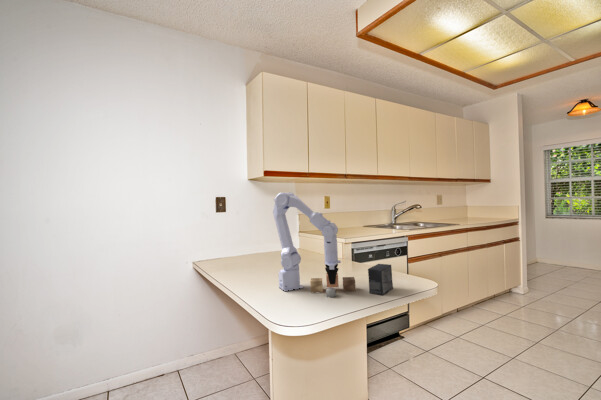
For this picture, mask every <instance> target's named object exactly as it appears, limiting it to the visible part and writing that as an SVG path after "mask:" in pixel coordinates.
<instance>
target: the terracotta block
mask: <svg viewBox="0 0 601 400" xmlns="http://www.w3.org/2000/svg"><path fill="white" fill-rule="evenodd" d="M325 274H326V275H325V276H326V288H339V286H340V285H339V273H338V272H337V275H336V282H335V284H330V282H329V277H328V274H327V272H326V273H325Z"/></svg>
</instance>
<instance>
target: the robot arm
mask: <svg viewBox="0 0 601 400" xmlns="http://www.w3.org/2000/svg"><path fill="white" fill-rule="evenodd" d="M273 201H274V206H273V210H272V214H273V218H274V223H275V225H276V229H277V233H278V237H279V241H280V244H281V245H280V247H281V253H280V257H281V260H280V264H281V267H282V269H280V270H279V271H278V288H279V287H280V288H279V289H280V290H282V291H283V290H284V291H283V292H288V290H289V291H294V290H293V289H295V290H299V288H300V289H304V287H305V286H303V285H301V277H300V276H301V275H300V273H301V272H300V263H301V261H302V258H301V257H302V256H301V255H300V254H299V252H298V250H297V248H296V247H295V246H294V243H293V238H292V236H291V235H292V234H291V232H290V227H289V223H288V220H287V216H286V213H287V212H288V210H289V208H296V209H297V210H299V211H300V212H301V213H302V214H303V215H305V216H306V217H307V218H308V219H309V222H310V223H311V224H312V225H313V226H314V227H315V228H316V229H317V230H319V231H320V232H321V234H322V237H323V250H324V251H323V252H324V265H325V267H324V269H325V272H326V273H327V274H328V277H329V282H330V284H335V282H336V275H337V273H338V272H339V268H338V266H339V264H341V262H342V261H341V260H339V256H338V254H339V253H338V239H337V237H338V236H337V234H338V232H339V228H338V226H337V225H336V223H334V222H332V221H331V220H330V219H327V218H326V217H324V216H323V215H324V213H322V212H318V211H317V212H315V211H313V209H311V208H310V207H309V206H308V205H307V204H306V203H304V201H302V199H300V198H299V196H297V195H295V194H294V193H293V192H283V191H282V192H279V193H278V194H276V196H275V197H274V199H273Z"/></svg>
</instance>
